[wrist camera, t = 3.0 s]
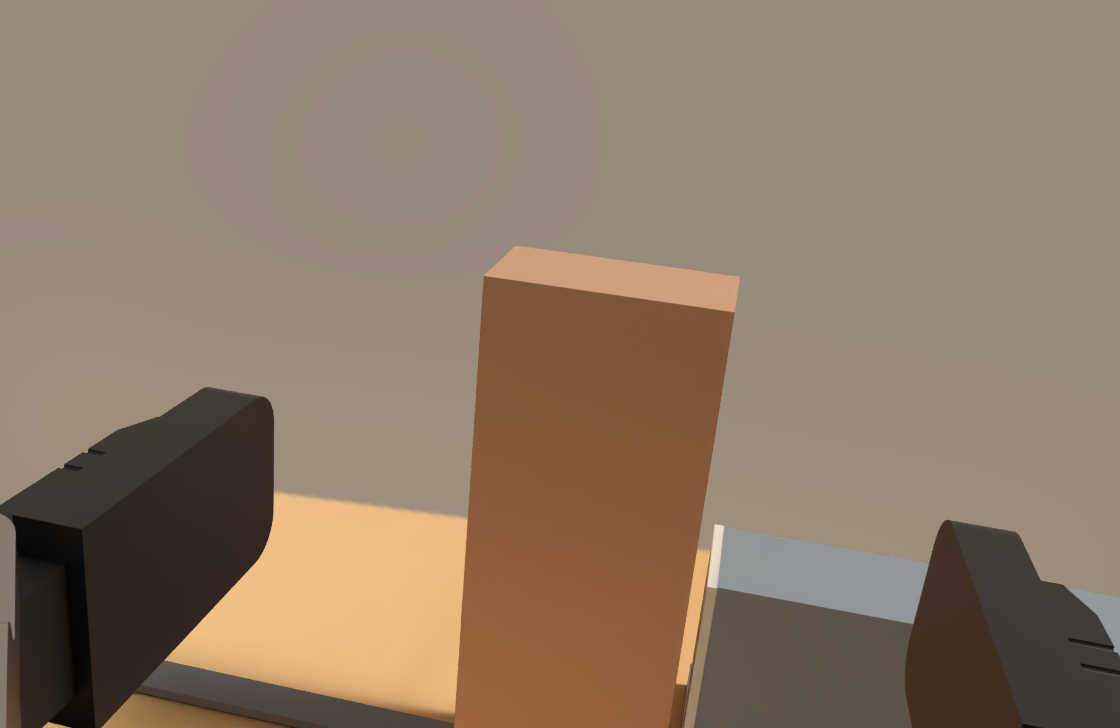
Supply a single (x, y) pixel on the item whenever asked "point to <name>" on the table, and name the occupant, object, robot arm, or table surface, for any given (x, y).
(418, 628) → the table surface
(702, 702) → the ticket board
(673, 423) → the stub
